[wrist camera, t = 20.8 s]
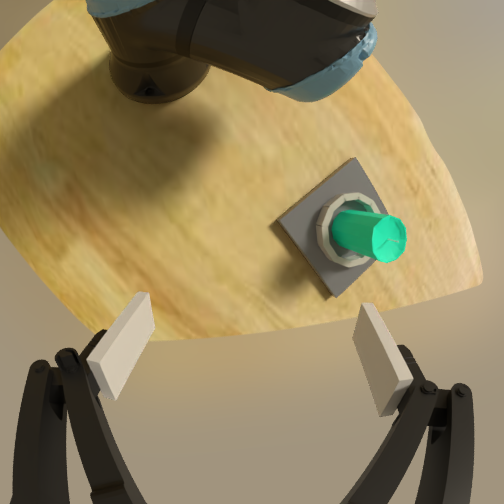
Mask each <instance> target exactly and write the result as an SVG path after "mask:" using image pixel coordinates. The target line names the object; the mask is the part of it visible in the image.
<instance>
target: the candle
mask: <svg viewBox="0 0 504 504" xmlns="http://www.w3.org/2000/svg"><path fill="white" fill-rule="evenodd" d="M331 230H332V235H333V239H334V240H335V241H336V243H337V244H338V245H339V246H341V247H344V248H347V249H349V250H352V251H354V252H357V253H360V254H362V255H365V256H368V257H370V258H373V259H375V260H378V261H381V262H385V263H388V262H391V261H394V260H396V259H397V258H398V257H399V256H400V255H401V254H402V253H403V252H404V251H405V246H406V241H407V236H406V227H405V226H404V224H403V223H402V221H401V220H400V219H399V218H396V217H393V216H391V215H385V214H378V213H371V212H364V211H357V210H345V211H342V212H340V213H339V214H338V215H337V216H336V217H335V219H334V221H333V225H332V229H331Z"/></svg>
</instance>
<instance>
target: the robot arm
mask: <svg viewBox="0 0 504 504" xmlns="http://www.w3.org/2000/svg"><path fill="white" fill-rule="evenodd" d="M86 3H87V11H88V13H89V14H90V15H91V16H92V17H93V19H94V21H95V23H96V24H97V26H98V28H99V30H100V32H101V33H102V35H103V37H104V39H105V40H106V42H107V44H108V46H109V48H110V50H111V54H110V63H109V68H110V74H111V77H112V79H113V81H114V83H115V85H116V86H117V88H118V89H119V90H120V91H121V92H122V93H123V94H124V95H125V96H127V97H128V98H130V99H132V100H135V101H138V102H142V103H149V104H156V103H164V102H169V101H172V100H175V99H178V98H180V97H182V96H184V95H186V94H188V93H189V92H191V91H192V90H194V89H195V88H196V87H197V86H198V85H199V84H200V83H201V82H202V81H203V80H204V78H205V77H206V75H207V74H208V72H209V69H210V67H211V66H214V67H217V68H219V69H222V70H225V71H227V72H230V73H233V74H235V75H238V76H240V77H243V78H245V79H247V80H250V81H252V82H254V83H257V84H259V85H261V86H263V87H264V88H265V89H266V90H268V91H270V92H271V91H272V92H275V93H280V94H282V95H285V96H287V97H289V98H292V99H294V100H296V101H299V102H315V101H318V100H321V99H323V98H326V97H328V96H329V95H331V94H333V93H334V92H336V91H337V90H338V89H340V88H341V87H342V86H343V85H345V84H346V83H347V82H348V81H349V80H350V79H351V78H352V77H353V76H354V75H355V74H356V73H357V72H358V71H359V70H360V69H361V67H362V66H363V61H364V60H365V59H366V58H368V57H369V56H370V55H371V53H372V51H373V50H374V48H375V45H376V42H377V31H376V29H375V28H374V26H373V24H372V23H371V21H372V20H373V19H374V18H375V17H376V15H377V14H378V9H377V5H376V1H375V0H86ZM154 329H155V324H154V319H153V313H152V308H151V302H150V296H149V293H148V292H137V294H136V295H135V296H134V297H133V299H132V300H131V301H130V302H129V304H128V305H127V306H126V307H125V309H124V310H123V311H122V313H121V314H120V315H119V316H118V318H117V319H116V320H115V322H114V323H113V324H112V325H111V327H110V328H109V329H108V330H104V329H103V330H101V331H100V332H98V333H97V334H96V335H95V336H94V337H93V339H92V341H90V342H89V344H88V345H87V346H86V347H85V349H84V350H83V351H82V353H81V354H80V355H78V353H77V351H76V350H75V349H73V348H64V349H62V350H60V351H59V352H57V354H56V355H55V361H56V363H57V365H58V367H50V365H49V363H48V362H47V361H46V360H37V361H35V362H34V363H33V364H32V365H31V366H30V369H29V373H28V376H27V380H26V385H25V389H24V393H23V398H22V402H21V407H20V413H19V419H18V425H17V432H16V440H15V449H14V461H13V495H12V498H11V502H10V504H70V501H69V492H68V481H67V465H66V464H67V463H66V422H67V410H68V414H69V419H70V423H71V427H72V431H73V434H74V438H75V442H76V445H77V449H78V452H79V455H80V458H81V461H82V464H83V467H84V470H85V473H86V476H87V478H88V481H89V483H90V486H91V489H92V492H91V494H90V496H91V499H92V502H93V504H147V503H146V502H145V500H144V498H143V497H142V495H141V493H140V491H139V489H138V488H137V486H136V484H135V482H134V480H133V478H132V476H131V474H130V472H129V470H128V468H127V466H126V464H125V462H124V460H123V458H122V456H121V453H120V451H119V449H118V447H117V444H116V443H115V440H114V437H113V435H112V432H111V430H110V427H109V425H108V422H107V419H106V417H105V414H104V411H103V408H102V405H101V402H100V399H99V398H98V393H99V391H100V390H101V392H102V394H103V396H104V397H105V398H109V399H112V400H117V398H118V396H119V394H120V392H121V389H122V388H123V386H124V384H125V382H126V380H127V379H128V377H129V375H130V373H131V371H132V369H133V367H134V366H135V364H136V362H137V360H138V358H139V356H140V354H141V353H142V351H143V349H144V347H145V345H146V344H147V342H148V340H149V338H150V336H151V335H152V333H153V331H154ZM353 341H354V343H355V346H356V349H357V352H358V355H359V357H360V360H361V363H362V366H363V369H364V371H365V374H366V377H367V380H368V383H369V386H370V389H371V392H372V395H373V398H374V401H375V404H376V407H377V410H378V414H379V417H383V416H389V415H393V414H394V412H395V410H396V409H398V411H399V415H398V416H397V418H396V419H395V421H394V422H393V424H392V427H391V429H390V431H389V433H388V434H387V436H386V438H385V440H384V441H383V443H382V445H381V446H380V448H379V449H378V451H377V453H376V454H375V456H374V457H373V459H372V460H371V462H370V463H369V465H368V466H367V468H366V469H365V471H364V472H363V474H362V475H361V477H360V478H359V479H358V481H357V482H356V483H355V485H354V486H353V488H352V489H351V490H350V492H349V493H348V494H347V495H346V497H345V498H344V499H343V500H342V502H341V503H340V504H387V503H388V502H389V500H390V499H391V497H392V496H393V494H394V492H395V490H396V489H397V487H398V485H399V484H400V482H401V480H402V478H403V476H404V474H405V473H406V471H407V469H408V467H409V465H410V463H411V461H412V459H413V457H414V455H415V452H416V450H417V448H418V446H419V444H420V442H421V439H422V437H423V434H424V432H425V430H426V427H427V426H429V431H428V440H427V447H426V454H425V460H424V465H423V471H422V476H421V480H420V485H419V489H418V493H417V497H416V501H415V504H469V503H470V496H471V488H472V478H473V465H474V413H473V399H472V392H471V390H470V388H469V387H468V386H467V385H465V384H462V383H457V384H455V385H454V386H453V387H452V388H451V390H443V389H438V387H437V386H436V385H435V384H434V383H433V382H431V381H428V380H426V379H425V377H424V375H423V373H422V372H421V370H420V368H419V366H418V364H417V363H416V361H415V359H414V358H413V355H412V353H411V352H410V350H409V349H408V348H407V347H405V346H404V345H396V343H395V342H394V340H393V338H392V336H391V334H390V332H389V331H388V329H387V327H386V325H385V323H384V322H383V320H382V318H381V316H380V315H379V313H378V311H377V309H376V308H375V306H374V304H373V303H361V307H360V311H359V315H358V320H357V323H356V327H355V331H354V334H353Z"/></svg>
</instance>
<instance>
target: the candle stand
mask: <svg viewBox="0 0 504 504" xmlns="http://www.w3.org/2000/svg"><path fill="white" fill-rule="evenodd" d="M345 210H357V211H364V212H371V213H378V214H385V215H389V214H388V212H387V210H386V208H385V206H384V205H383V203H382V201H381V199H380V197H379V196H378V194H377V192H376V190H375V188H374V187H373V185H372V183H371V182H370V180H369V178H368V176H367V175H366V173H365V171H364V170H363V168H362V167H361V165H360V163H359V162H358V160H357V159H356V157H354V158H350V159H349V160H348V161H347V162H345V163H344V164H343V165H342V166H340V167H339V168H338V169H337V170H336V171H334V172H333V173H332V174H331V175H330V176H328V177H327V178H326V179H325V180H323V181H322V182H321V183H320V184H319V185H317V186H316V187H315V188H314V189H313V190H311V191H310V192H309V193H308V194H307V195H305V196H304V197H303V198H302V199H301V200H299V201H298V202H297V203H296V204H295V205H293V206H292V207H291V208H290V209H288V210H287V211H286V212H285V213H284V214H282V215H281V216H280V217H279V218H278V219H276V220H277V221H278V223H279V224H280V225H281V226H282V228H283V229H284V230H285V232H286V233H287V234H288V236H289V237H290V238H291V240H292V241H293V242H294V244H295V245H296V246H297V248H298V249H299V250H300V252H301V253H302V254H303V256H304V257H305V259H306V260H307V261H308V263H309V264H310V265H311V267H312V268H313V269H314V271H315V272H316V274H317V275H318V276H319V278H320V279H321V280H322V282H323V283H324V285H325V286H326V287H327V289H328V290H329V292H330V293H331V294H332V296H334V297H335V298H337V297H338V296H339V295H340V294H341V293H342V292H343V291H345V290H346V289H347V288H348V287H349V286H350V285H351V284H352V283H353V282H354V281H355V280H356V279H357V278H358V277H359V276H360V275H361V274H362V273H363V272H364V271H365V270H367V269H368V268H369V267H370V266H371V265H372V264H373V263H374V262H375V261H376V260H375V259H373V258H370V257H368V256H365V255H362V254H360V253H357V252H354V251H352V250H349V249H347V248H344V247H341V246H339V245H338V244H337V243H336V241H335V240H334V239H333V235H332V230H331V229H332V225H333V221H334V219H335V217H336V216H337V215H338V214H339V213H340V212H342V211H345Z"/></svg>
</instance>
